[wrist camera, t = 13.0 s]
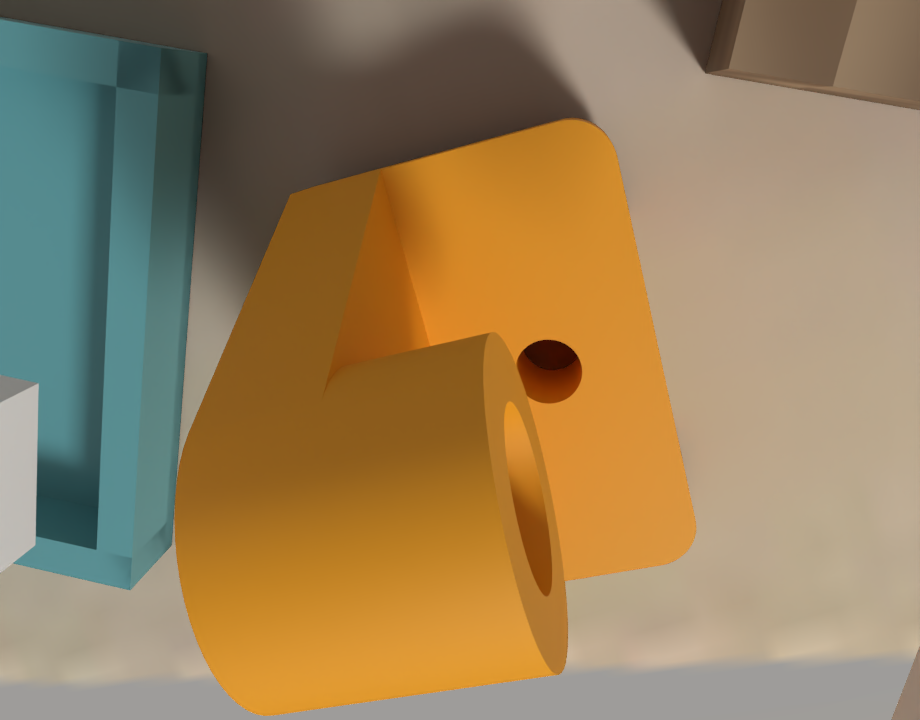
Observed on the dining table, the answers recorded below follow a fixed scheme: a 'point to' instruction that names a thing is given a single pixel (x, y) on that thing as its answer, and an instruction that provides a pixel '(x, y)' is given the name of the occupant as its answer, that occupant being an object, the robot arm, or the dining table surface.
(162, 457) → the tray
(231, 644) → the bracket
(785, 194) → the dining table surface
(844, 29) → the tan square sleeve
